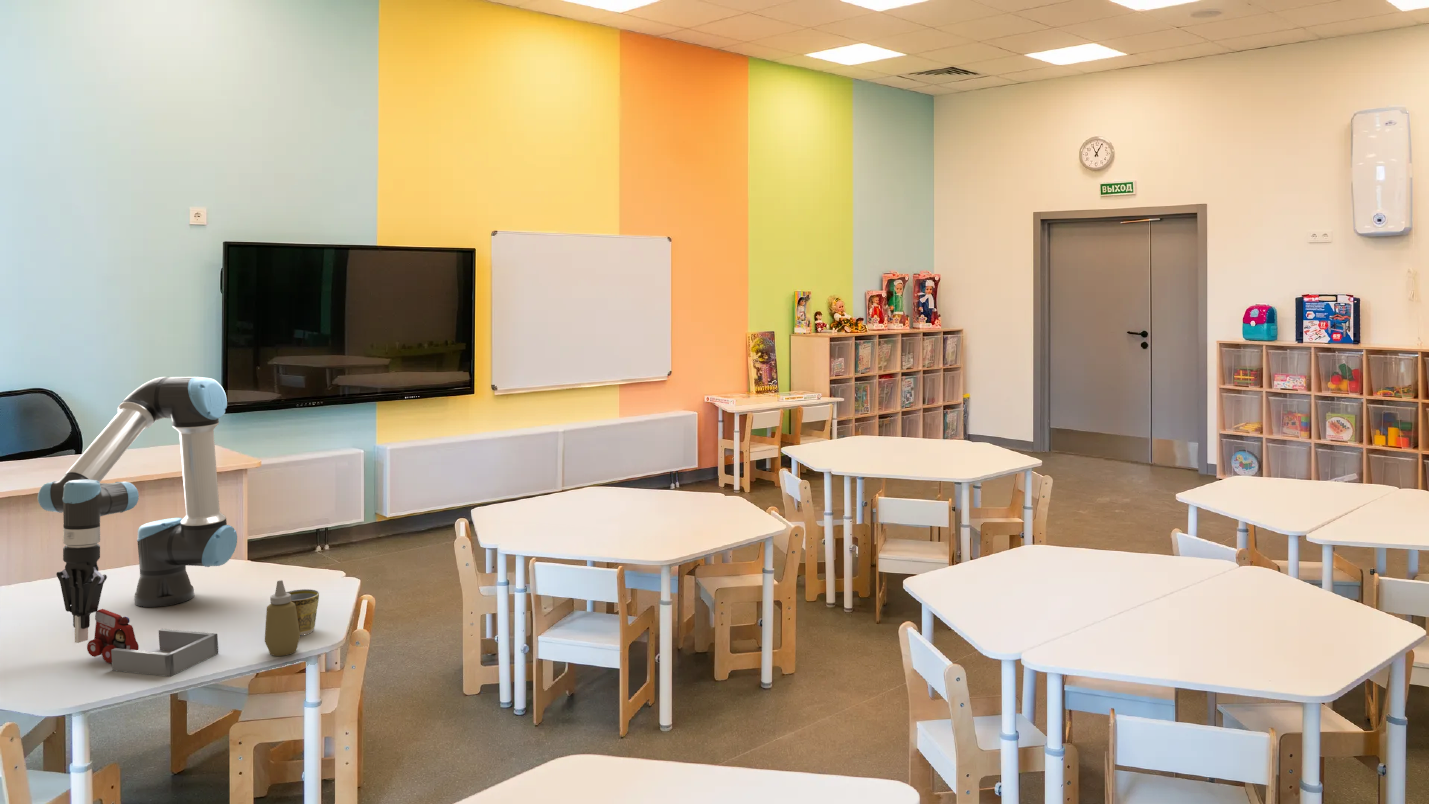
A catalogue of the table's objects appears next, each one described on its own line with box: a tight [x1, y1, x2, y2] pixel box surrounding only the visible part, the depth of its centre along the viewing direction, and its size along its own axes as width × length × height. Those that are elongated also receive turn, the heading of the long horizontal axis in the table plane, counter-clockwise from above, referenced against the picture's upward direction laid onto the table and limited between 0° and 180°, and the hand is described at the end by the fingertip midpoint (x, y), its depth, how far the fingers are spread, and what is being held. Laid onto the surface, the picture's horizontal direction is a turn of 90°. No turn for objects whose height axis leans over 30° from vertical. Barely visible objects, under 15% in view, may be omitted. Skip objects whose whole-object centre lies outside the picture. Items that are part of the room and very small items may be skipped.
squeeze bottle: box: [264, 579, 301, 657], centre depth 243 cm, size 8×8×18 cm
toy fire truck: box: [86, 608, 140, 664], centre depth 240 cm, size 7×12×10 cm, turn 69°
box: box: [111, 628, 219, 678], centre depth 238 cm, size 16×15×5 cm
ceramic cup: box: [286, 588, 320, 636], centre depth 260 cm, size 13×10×10 cm
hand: (81, 641), depth 241 cm, fingers closed
